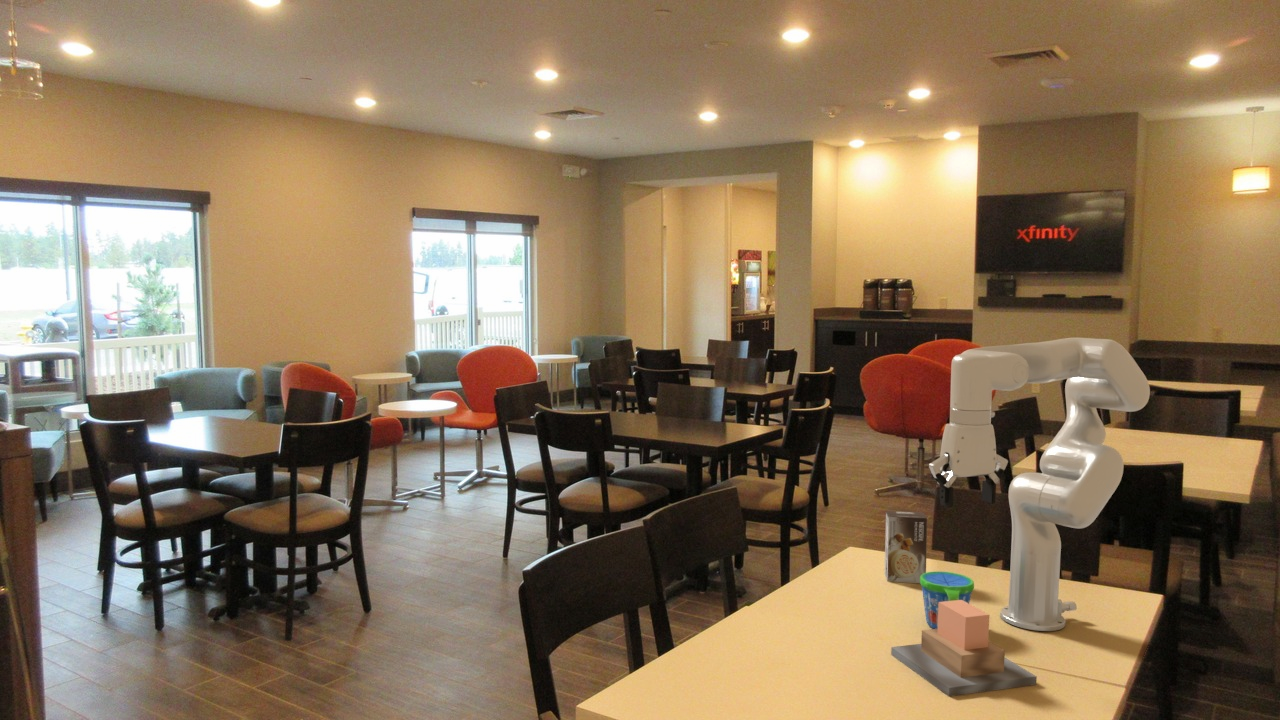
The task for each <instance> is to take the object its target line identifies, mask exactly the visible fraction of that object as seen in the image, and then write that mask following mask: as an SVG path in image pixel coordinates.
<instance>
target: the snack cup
mask: <svg viewBox="0 0 1280 720" xmlns="http://www.w3.org/2000/svg"><path fill="white" fill-rule="evenodd" d="M919 584H920V586H921V589H922V597H923V599H922V600H923V606H924V614H925V615H924V616H925V620H926V624H927V625H928V626H929V627H930V628H931V629H938V605H939V602H944V601H954V600H963V601H965V602H967V603H968V604H970V602H971V597H972V596H971V595H972V592H973V591H974V589H975V582H974V580H973V579H972V578H971V577H968V576H966V575H963V574H960V573H957V572H950V571H929V572H928V571H926V573H924V574H922V575H921V577H920V583H919Z"/></svg>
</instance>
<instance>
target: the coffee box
mask: <svg viewBox="0 0 1280 720" xmlns="http://www.w3.org/2000/svg"><path fill="white" fill-rule="evenodd" d="M884 537H885V538H884V539H885V542H884V546H885V547H884V577H885V579H886V581H887V582H888V581H890V582H889V583H891V582H892V583H906V584H907V583H908V584H912V583H913V584H920V577H921V575H922V574H924V573H927V551H928V550H927V548H928V547H927V546H928V545H927V543H928V541H927V540H928V539H927V538H928V518H927V516H926V514H924V512H922V511H906V510H905V511H904V510H902V511H901V510H885V536H884Z"/></svg>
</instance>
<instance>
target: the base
mask: <svg viewBox="0 0 1280 720" xmlns="http://www.w3.org/2000/svg"><path fill="white" fill-rule="evenodd" d="M937 630H938V629H935V628H931V629H923V630H921V641H920V642H921V643H916V644H908V645H907V644H906V645H897V646H891V651H890V655H891V656H892V657H893V658H895V659H896V660H898V661H899V662H901V663H902V664H904V665H905V666H906V667H908V668H909V669H910V670H912V671H913V672H914V673H916V674H917V675H919V676H920V677H921V678H923V679H925V680H926V681H927V682H928V683H930V684H931V685H932V686H934V687H935V688H937V690H939V691H941V692H942V693H943V694H945V695H947V697H954V696H961V695H969V694H975V693H983V692H985V693H986V692H991V691H998V690H1006V689H1013V688H1019V687H1029V686H1034V685H1035V686H1036V685H1037V675H1035V674H1033V673H1031V671H1028V670H1027V669H1025V668H1023V667H1021V666H1020V665H1018V664H1017V663H1015V662H1013V661H1011V660H1010V659H1008V658H1007V657H1005V654H1006V653H1005V652H1006V651H1005V649H1003V648H1001V647H999V646H998V645H997V644H995V643H993V642H991V641H990V640H988V647H985V648H977V649H969V650H964V649H962V648H960V647H959V646H957V645H955V644H954V643H952V642H951V641H949V640H947V639H946V638H944V637H943V636H941V635H939V634H938V633H937Z"/></svg>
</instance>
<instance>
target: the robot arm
mask: <svg viewBox="0 0 1280 720" xmlns="http://www.w3.org/2000/svg"><path fill="white" fill-rule="evenodd" d="M950 367H951V368H950V370H951V371H950V374H951V375H950V400H949V401H950V402H949V405H950V406H949V423H946V424H945V425H944V430H943V434H942V439H941V446H940V453H939V457H938V458H937V459H935V460H933V461H932V462H930V463H929V464H928V468H929V469H930V472H931V474H932V478H933V479H934V480H935V481H936V483H937V484H938V485H939V503H940V505H941V506H944V507H946V508H953V506H954V487H953V486H952V484H953V483H954V482H955V481H956V479H957V478H963V477H964V478H965V477H978V476H980V477H981V476H982V477H983V478H984V479H985V480H982V485H981V487H982V488H981V500H982V501H983V502H985V503H988V504H991V505H995V504H996V496H997V493H996V492H997V484H999V483H1000V478H1002V477H1003V475H1004V474H1005V470H1006V467H1007V466H1008V463H1009V460H1008V459H1007V458H1004V457H1003V456H1001V455H999V454H997V444H996V443H997V442H996V436H995V435H996V434H995V428H994V425H993V424H992V423H991V422H992V418H994V417H996V412H995V411H994V410H992V404H993V403H992V398H993V391H995V390H996V391H1006V392H1010V391H1016V390H1018V389H1020V388H1022V387H1023V386H1024V385H1026V384H1047V383H1052V382H1057V381H1062V380H1066V382H1065V386H1064V387H1065V388H1064V394H1065V405H1066V418H1065V422H1064V423H1063V425H1062V427H1061V428H1060V430H1058V432H1057V434H1056V435H1055V436H1054V437H1053V439H1052V441H1051V442H1050V443H1049V445H1048V446H1047V447H1046V448H1045V450H1044V452H1043V453H1042V455H1041V457H1040V460H1039V469H1040V471H1041V472H1030V471H1029V472H1028V471H1027V472H1023V473H1020V474H1018V475H1016V476H1015V477H1013V479H1012V480H1011V481H1010V484H1009V487H1008V504H1009V508H1010V516H1011V518H1010V519H1011V546H1010V547H1011V548H1010V549H1011V550H1010V566H1009V567H1010V570H1009V589H1008V591H1009V592H1008V605H1007V606H1004V607H1003V608H1001V609H1000V618H1001V619H1002V620H1003V621H1004V622H1005V623H1007V624H1010V625H1013V626H1014V627H1018V628H1021V629H1023V630H1024V629H1025V630H1030V631H1037V632H1038V631H1040V632H1055V631H1059V630H1061V629H1064V628H1065V626H1066V619H1065V617H1064V616H1063V613H1065V612H1071V611H1072V612H1073V611H1076V610H1077V604H1076V603H1075V602H1076V601H1073V600H1071V601H1070V600H1069V601H1064V602H1063V601H1062V599H1060V598H1059V591H1060V588H1059V587H1060V570H1061V551H1062V550H1061V549H1062V541H1061V537H1060V533H1059V530H1058V528H1057V526H1056V525H1059V526H1063V527H1068V528H1073V529H1085V528H1087V527H1089V526H1090V525H1091V524H1092V523H1094V522H1095V520H1096V518H1098V517H1099V515H1100V513H1101V512H1102V511H1103V509H1104V508H1105V506H1106V505H1107V503H1108V502H1109V500H1110V499H1111V498H1112V495H1113V494H1114V493H1115V491H1116V490H1117V488H1118V486H1119V485H1120V483H1121V481H1122V477H1123V474H1124V460H1123V457H1122V455H1121V453H1120V452H1119V451H1118V449H1116V448H1114V447H1112V446H1110V445H1106V444H1104V441H1105V439H1106V437H1107V435H1106V429H1105V425H1104V423H1103V421H1102V420H1101V418H1100V416H1099V413H1098V410H1097V409H1102V410H1111V411H1120V412H1130V413H1132V412H1138V411H1140V410H1142V409H1143V408H1144V407H1146V405H1147V404H1148V403H1149V399H1150V395H1151V388H1150V384H1149V381H1148V379H1147V376H1146V375H1145V374H1144V372H1143V371H1142V370H1141V368H1140V366H1139V365H1138V363H1137V362H1136V360H1135V359H1134V357H1133V356H1132V355H1131V354H1130V353H1129V352H1128V350H1127V349H1126V348H1125V347H1124V346H1123V345H1122V344H1120V343H1119V342H1117V341H1115V340H1114V339H1109V338H1093V337H1091V338H1090V337H1068V338H1067V337H1065V338H1058V339H1054V340H1046V341H1039V342H1027V343H1018V344H1016V343H1015V344H1007V345H994V346H993V345H992V346H990V345H989V346H982V347H975V348H970V349H967V350H965V351H962V353H960V354H956V355H955V356H953V357H952V360H951V365H950Z"/></svg>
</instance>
